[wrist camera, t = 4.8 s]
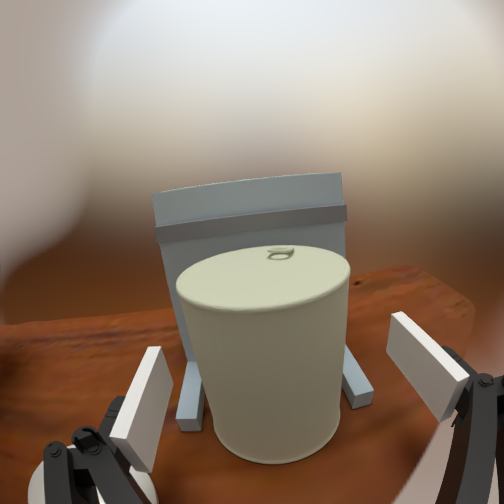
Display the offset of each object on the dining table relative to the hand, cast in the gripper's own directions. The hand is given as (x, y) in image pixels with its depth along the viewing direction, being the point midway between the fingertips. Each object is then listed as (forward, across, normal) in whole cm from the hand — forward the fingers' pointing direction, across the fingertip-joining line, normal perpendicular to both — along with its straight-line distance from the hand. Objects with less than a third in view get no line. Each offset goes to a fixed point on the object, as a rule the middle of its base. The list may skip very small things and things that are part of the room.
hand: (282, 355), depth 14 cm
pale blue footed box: (+8, -1, -7) cm, 10 cm away
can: (+2, 0, -7) cm, 7 cm away
